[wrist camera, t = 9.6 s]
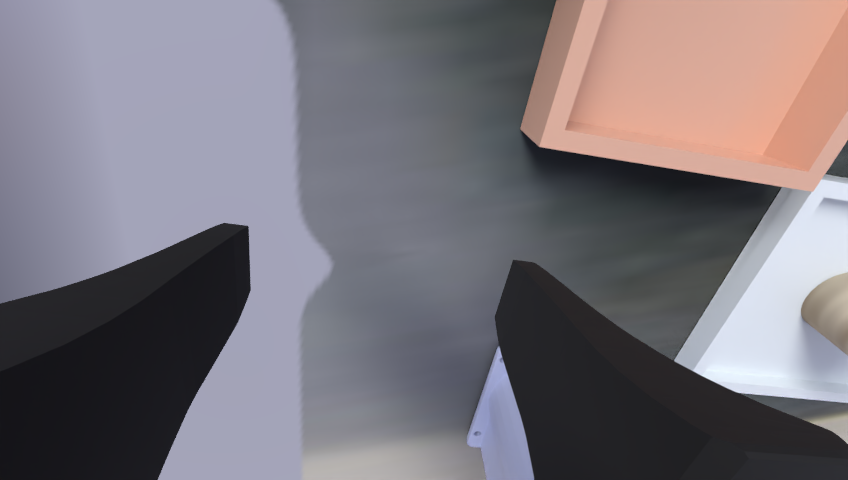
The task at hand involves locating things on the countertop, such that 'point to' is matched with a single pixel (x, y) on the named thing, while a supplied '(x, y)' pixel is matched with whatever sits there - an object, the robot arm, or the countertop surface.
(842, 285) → the birch peg
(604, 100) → the pink square tray
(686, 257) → the countertop surface
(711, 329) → the white tray
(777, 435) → the robot arm
